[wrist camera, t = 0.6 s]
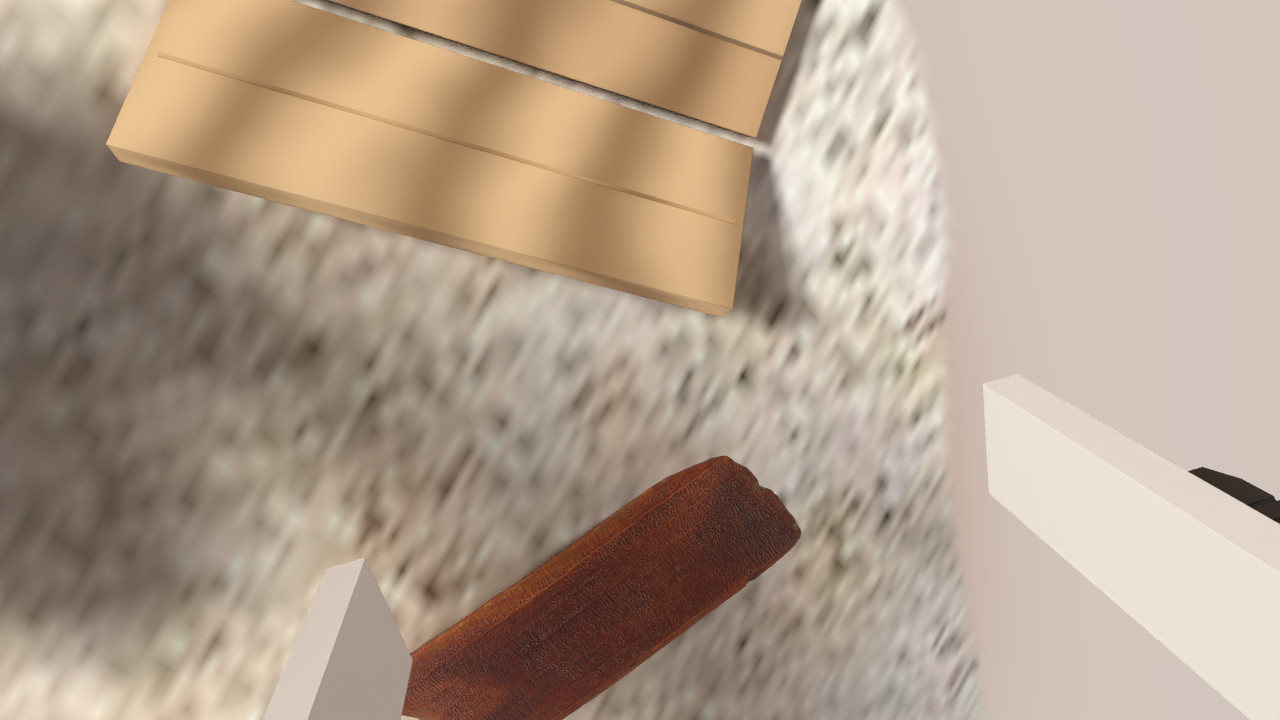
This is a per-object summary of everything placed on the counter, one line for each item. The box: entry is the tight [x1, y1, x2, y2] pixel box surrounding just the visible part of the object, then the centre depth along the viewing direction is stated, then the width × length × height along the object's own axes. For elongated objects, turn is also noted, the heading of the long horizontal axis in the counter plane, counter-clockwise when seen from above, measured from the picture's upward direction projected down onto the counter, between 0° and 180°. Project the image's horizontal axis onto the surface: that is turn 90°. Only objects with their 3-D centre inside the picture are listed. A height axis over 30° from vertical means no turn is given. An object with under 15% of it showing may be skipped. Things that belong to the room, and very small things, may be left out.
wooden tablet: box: [402, 456, 801, 720], centre depth 42 cm, size 27×10×2 cm, turn 125°
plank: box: [106, 0, 753, 317], centre depth 29 cm, size 24×8×1 cm
